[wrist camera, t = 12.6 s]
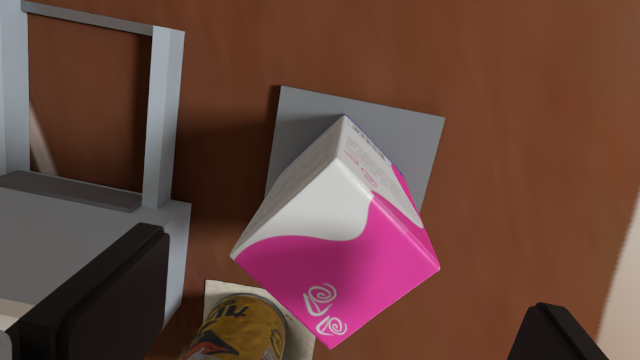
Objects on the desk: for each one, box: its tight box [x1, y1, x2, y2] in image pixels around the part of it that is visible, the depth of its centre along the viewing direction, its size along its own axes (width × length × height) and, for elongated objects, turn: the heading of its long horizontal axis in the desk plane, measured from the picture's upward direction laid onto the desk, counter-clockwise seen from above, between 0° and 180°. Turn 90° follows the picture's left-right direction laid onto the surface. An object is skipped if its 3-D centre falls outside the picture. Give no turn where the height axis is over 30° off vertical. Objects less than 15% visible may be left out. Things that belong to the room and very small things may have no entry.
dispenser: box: [0, 0, 192, 333], centre depth 21 cm, size 19×14×14 cm
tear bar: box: [21, 0, 153, 36], centre depth 25 cm, size 1×9×1 cm, turn 79°
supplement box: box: [230, 114, 440, 349], centre depth 20 cm, size 6×6×12 cm
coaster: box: [264, 85, 445, 213], centre depth 26 cm, size 10×10×1 cm
